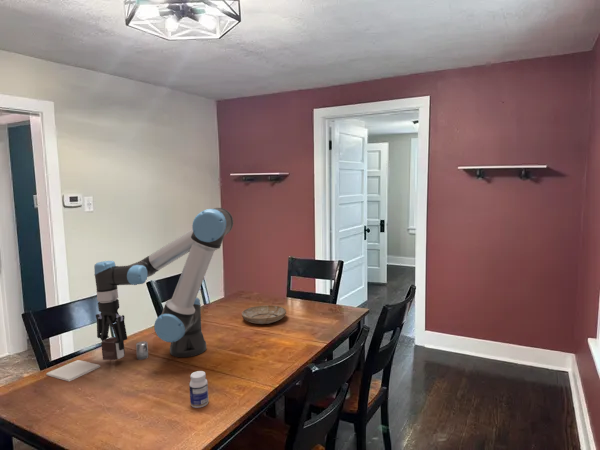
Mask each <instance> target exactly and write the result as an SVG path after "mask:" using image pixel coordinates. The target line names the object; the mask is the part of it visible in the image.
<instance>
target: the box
mask: <svg viewBox="0 0 600 450" xmlns="http://www.w3.org/2000/svg"><path fill="white" fill-rule="evenodd" d="M116 342H117V340H116V337H115V336H111V337H110V336H109V338H107V339H106V340H104V341H102V340H101V342H100V344H101V354H102V355H101V356H102V360H103V361H104V360H105V361H117V360H118V359H117V351H116ZM125 354H126V352H125V349H124V356H125Z"/></svg>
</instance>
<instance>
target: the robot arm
mask: <svg viewBox="0 0 600 450" xmlns="http://www.w3.org/2000/svg"><path fill="white" fill-rule="evenodd" d="M191 226H192V227H191V229H189V230H187V231H186V232H184V233H183V234H181V235H180V236H178V237H176V238H175V239H174V240H172V241H170V242H168V243H167V244H165V245H163V246H162V247H160V248H158V249H157V250H156V251H154V252H152V253H151V254H149V255H147V256H146V257H144V258H142V259H141V260H139V261H137V262H135V263H132V264H128V265H116V263H115V261H113V260H105V261H103V260H102V261H98V262H96V263H95V264H94V269H93V270H94V275H93V276H94V280H95V287H96V301H97V302H98V303H97V308H98V312H99V313H96V314H95V318H96V337H97V339H100V341H101V342H102V341H104V340H106V339H108V338H110V336H109V330H110V327H111V328H112V331H113V334H114V337H116V340H117V342H116V351H117V360H120V359H121V358H123V357H125V355H124V350H125V342H124V341H126V340H128V335H127V334H128V333H127V329H126V323H125V315H124V314H122V315H120V313H119V311H118V310H119V309H120V302H119V301H120V300H119V292H118V286H130V285H131V286H137V285H143V284H145V283H146V281H147V279H148V278H149V277H152V276H154V275H155V274H156V273H157V272H159V271H160V270H162V269H164V268H165V267H167V266H168V265H170V264H172V263H173V262H175V261H177V260H178V259H180V258H181V257H183V256H185V255H186V254H188V255H187V258H186V260H185V262H184V266H183V268H182V270H181V274H180V276H179V279H178V282H177V284H176V286H175V289H174V292H173V294H172V297H171V298H170V299H168V300H166V301H165V304H164V307H163V308H162V309H163V310H162V312H161V314H160V315H158V317H157V318H156V319H155V322H154V325H153V327H154V331H155V334H156V336H157V337H158V338H159V339H161V340H162V341H163V342H166V343H170V345H169V354H170V355H172V357H175V358H191V357H195V356H198V355H200V354H203V353H204V352H205V351H206V350H207V341H206V340H205V337H204V334H203V332H202V316H201V315H202V313H201V312H202V311H201V308H202V306H201V305H202V304H201V300H200V298H199V297H197V296H198V294H199V292H200V289H201V286H202V284H203V281H204V279H205V276H206V273H207V272H208V269H209V266H210V264H211V261H212V259H213V256H214V253H215V252H216V251H217V250H219V249H221V246H222V243H223V241H224V238H225V236H226V235H228V234H229V233H230V232H231V231H232V230H233V226H234V217H233V215H232V214H231V212H230V211H229V210H227V209H225V208H222V207H214V208H207V209H204V210H202V211H200V212H199V213H197V215H196V216H195V217H194V219H193V221H192V225H191Z"/></svg>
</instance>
